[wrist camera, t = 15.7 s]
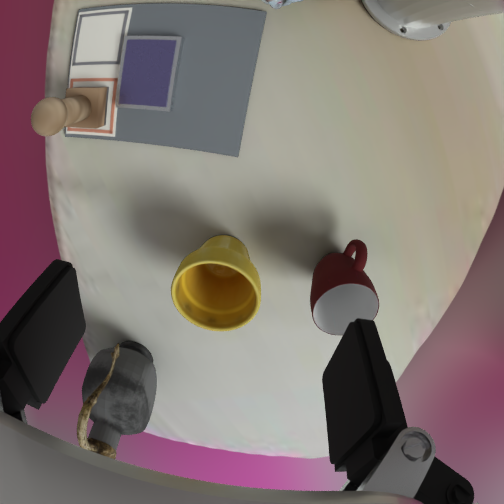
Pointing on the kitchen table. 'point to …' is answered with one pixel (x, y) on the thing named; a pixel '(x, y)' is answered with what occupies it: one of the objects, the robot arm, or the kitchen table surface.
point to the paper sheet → (99, 59)
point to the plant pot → (217, 285)
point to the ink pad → (149, 72)
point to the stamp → (71, 110)
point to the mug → (342, 290)
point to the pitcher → (116, 397)
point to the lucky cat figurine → (279, 3)
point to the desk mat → (196, 76)
